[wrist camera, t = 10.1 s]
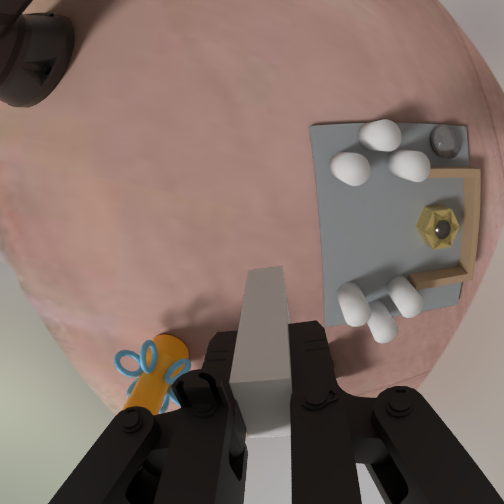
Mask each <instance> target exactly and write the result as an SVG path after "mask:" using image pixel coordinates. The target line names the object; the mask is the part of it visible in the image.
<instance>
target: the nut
mask: <svg viewBox="0 0 504 504" xmlns="http://www.w3.org/2000/svg"><path fill="white" fill-rule="evenodd" d="M416 228H417V230H418V232H419V234H420V236H421V237H422V239H423V241H424V243H425V244H426V245H428V246H429V247H430V248H432V249H433V250H435V249H441V248H446V247H451V245H452V243H453V241H454V239H455V236H456V234H457V232H458V230H459V228H460V226H459V224H458V222H457V219H456V217H455V215H454V213H453V211H452V209H451V208H448V207H446V206H444V205H434V206H425V207H424V208H423V211H422V213H421V215H420V218H419V220H418V222H417V224H416Z"/></svg>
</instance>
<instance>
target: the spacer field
mask: <svg viewBox="0 0 504 504" xmlns="http://www.w3.org/2000/svg"><path fill="white" fill-rule="evenodd" d="M437 125H440V124H421V123H394V122H393V121H391V120H387V119H383V120H379V121H374V122H370V123H351V124H331V125H316V126H309V131H310V138H311V146H312V154H313V162H314V171H315V180H316V190H317V200H318V211H319V223H320V236H321V251H322V268H323V289H324V320H325V327H326V326H335V325H342V324H348V325H350V326H353V327H358V326H361V325H364V324H365V323H366V322H367V323H368V325H369V328H370V330H371V332H372V334H373V337H374V339H375V340H376V341H377V342H378V343H386V342H389V341H391V340H392V339H393V338H394V337H395V336H396V334H397V332H398V327H397V325H396V323H395V321H394V320H393V318H392V317H395V316H401V315H403V316H404V317H406V318H412V317H414V316H416V315H418V314H419V313H420V312H422V311H428V310H432V309H437V308H442V307H447V306H451V305H456V304H458V299H459V294H460V288H461V282H464V281H469V280H472V279H473V273H474V266H475V259H476V251H477V242H478V231H479V218H480V191H481V176H480V169H478V168H473V167H469V157H468V142H467V130H466V127H465V126H454V125H451V126H452V127H454V128H455V129H456V130H457V132H458V134H459V136H460V139H461V149H460V152H459V154H458V155H457V156H456V157H454V158H452V159H446V158H441V157H439V156H437V155H436V154H435V153H434V152H433V150H432V148H431V145H430V133H431V130H432V129H433V128H434V127H435V126H437ZM434 205H444V206H446V207H448V208H451V209H452V211H453V213H454V215H455V217H456V219H457V222H458V224H459V226H460V228H459V230H458V232H457V234H456V236H455V239H454V241H453V243H452V245H451V247H446V248H441V249H435V250H433V249H432V248H430V247H429V246H428V245H426V244H425V243H424V241H423V239H422V237H421V236H420V234H419V232H418V230H417V228H416V224H417V222H418V220H419V218H420V215H421V213H422V211H423V208H424V207H425V206H434Z"/></svg>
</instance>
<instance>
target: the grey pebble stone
mask: <svg viewBox="0 0 504 504" xmlns="http://www.w3.org/2000/svg"><path fill="white" fill-rule="evenodd" d="M430 145H431V148H432V150H433V152H434V153H435V154H436V155H437V156H439V157H441V158H446V159H452V158H454V157H456V156H457V155H458V154H459V152H460V149H461V139H460V136H459V134H458V132H457V130H456V129H455V128H454V127H452V126H451V125H448V124H441V125H437V126H435V127H434V128H433V129H432V130H431V133H430Z"/></svg>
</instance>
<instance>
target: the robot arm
mask: <svg viewBox="0 0 504 504" xmlns="http://www.w3.org/2000/svg"><path fill="white" fill-rule="evenodd" d="M32 1H33V0H0V100H1V101H3V102H5V103H7V104H8V105H10V106H13V107H31V106H34V105H36V104H38V103H39V102H41V101H42V100H43V99H44V98H45V97H47V96H48V95H49V93H50V92H51V91H52V90H53V89H54V88H55V86H56V85H57V83H58V82H59V80H60V79H61V77H62V75H63V73H64V71H65V69H66V67H67V65H68V63H69V60H70V57H71V54H72V50H73V45H74V29H73V26H72V23H71V22H70V20H69V19H67V18H66V17H64V16H62V15H59V14H57V13H53V12H46V13H31V14H22V13H23V12H24V10H25V9H26V8H27V7H28V6H29V4H30V3H31V2H32ZM171 389H172V390H173V392H174V394H175V396H176V398H177V400H178V402H179V404H180V406H181V408H180V409H178V410H175V411H171V412H167V413H162V414H157V415H152V413H151V412H150V410H148V409H146V408H145V407H140V406H133V407H128V408H126V409H124V410H122V411H120V412H119V413H118V414H117V415H116V416H115V417H114V419H113V420H112V421H111V422H110V424H109V425H108V426H107V428H106V429H105V430H104V432H103V433H102V434H101V435H100V437H99V438H98V439H97V441H96V442H95V443H94V445H93V446H92V447H91V448H90V450H89V451H88V452H87V454H86V455H85V456H84V458H83V459H82V460H81V461H80V463H79V464H78V465H77V467H76V468H75V469H74V470H73V472H72V473H71V474H70V476H69V477H68V478H67V480H66V481H65V482H64V483H63V485H62V486H61V488H60V489H59V490H58V491H57V493H56V494H55V495H54V497H53V498H52V499H51V500H50V502H49V503H48V504H243V502H244V492H245V481H246V470H247V458H248V451H247V446H246V444H245V438H246V432H247V434H248V437H249V438H265V437H279V436H291V469H292V504H362V502H361V494H360V488H359V482H358V475H357V469H356V463H362V464H365V466H366V468H367V470H368V471H369V473H370V475H371V477H372V479H373V481H374V483H375V485H376V487H377V488H378V490H379V492H380V494H381V496H382V498H383V500H384V502H385V504H504V501H503V500H502V498H501V497H500V496H499V494H498V493H497V491H496V490H495V488H494V487H493V486H492V484H491V483H490V482H489V480H488V479H487V478H486V476H485V475H484V474H483V472H482V471H481V470H480V468H479V467H478V465H477V464H476V463H475V462H474V460H473V459H472V458H471V456H470V455H469V454H468V452H467V451H466V450H465V449H464V447H463V446H462V445H461V443H460V442H459V441H458V440H457V438H456V437H455V436H454V435H453V433H452V432H451V431H450V429H449V428H448V427H447V426H446V424H445V423H444V422H443V421H442V419H441V418H440V417H439V416H438V414H437V413H436V412H435V411H434V410H433V408H432V407H431V406H430V405H429V403H428V402H427V401H426V400H425V399H424V397H423V396H422V395H421V394H420V393H419V392H417V391H416V390H415V389H413V388H410V387H407V386H394V387H391V388H387V389H386V390H384V391H383V392H381V393H380V394H379V395H378V397H377V398H367V397H358V396H353V395H351V394H348V393H346V392H345V391H343V390H342V389H341V388H340V387H339V385H338V383H337V381H336V377H335V373H334V368H333V364H332V359H331V355H330V350H329V346H328V342H327V338H326V333H325V329H324V327H323V326H321V325H320V324H319V323H318V322H317V321H316V320H315V321H308V322H301V323H293V324H290V316H289V309H288V301H287V294H286V286H285V279H284V272H283V266H276V267H269V268H261V269H254V270H248V275H247V281H246V287H245V293H244V298H243V304H242V310H241V316H240V322H239V328H238V331H227V332H217V333H216V335H215V336H214V337H213V338H212V339H211V340H210V342H209V345H208V349H207V354H206V356H205V359H204V363H203V366H202V369H198V370H192V371H189V372H187V373H184V374H182V375H181V376H180V377H178V378H177V379H176V380H175V381H174V383H173V384H172V386H171Z"/></svg>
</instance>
